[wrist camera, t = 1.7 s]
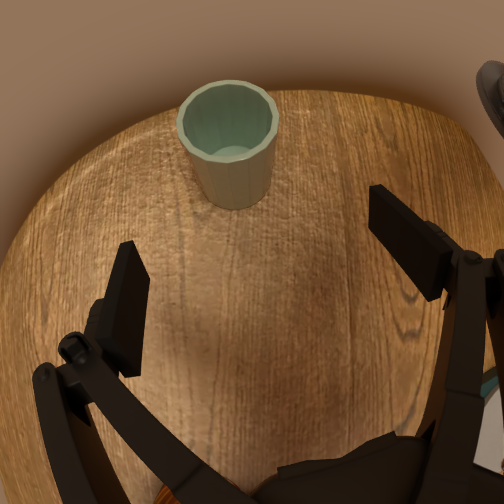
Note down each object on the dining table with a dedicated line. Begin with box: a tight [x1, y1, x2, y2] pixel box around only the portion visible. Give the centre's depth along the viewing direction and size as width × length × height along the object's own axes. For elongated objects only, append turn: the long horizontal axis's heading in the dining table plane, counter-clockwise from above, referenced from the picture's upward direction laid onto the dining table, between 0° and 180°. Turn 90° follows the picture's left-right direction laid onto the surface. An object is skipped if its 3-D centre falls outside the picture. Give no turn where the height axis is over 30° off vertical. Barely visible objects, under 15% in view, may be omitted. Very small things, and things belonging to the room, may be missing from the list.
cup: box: [176, 80, 280, 210], centre depth 27 cm, size 7×7×11 cm
